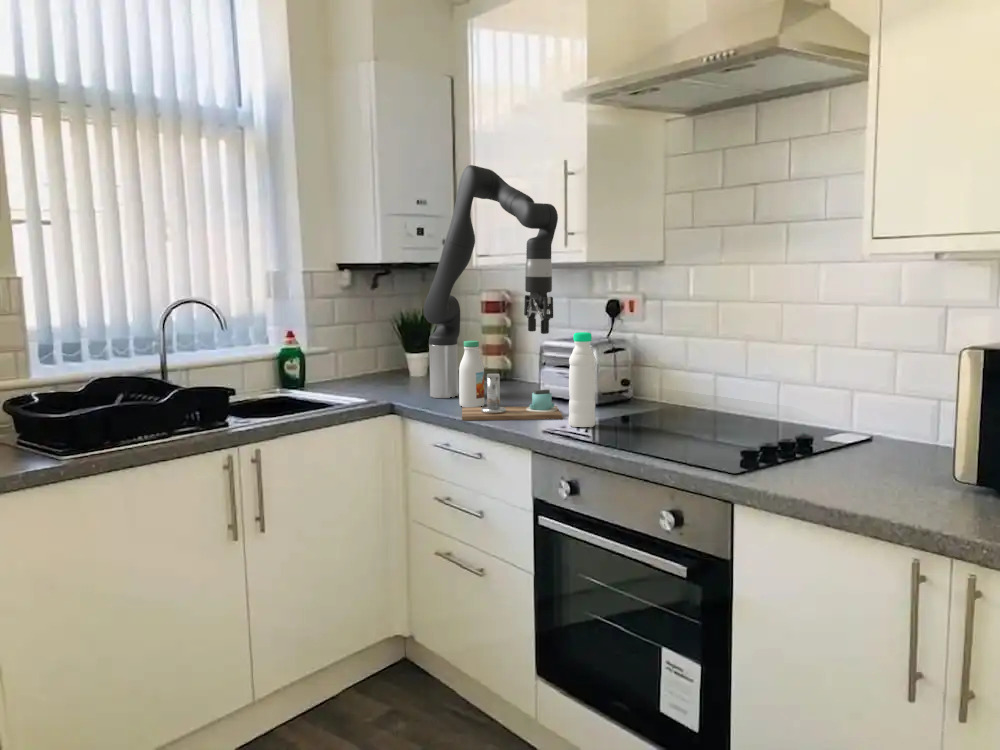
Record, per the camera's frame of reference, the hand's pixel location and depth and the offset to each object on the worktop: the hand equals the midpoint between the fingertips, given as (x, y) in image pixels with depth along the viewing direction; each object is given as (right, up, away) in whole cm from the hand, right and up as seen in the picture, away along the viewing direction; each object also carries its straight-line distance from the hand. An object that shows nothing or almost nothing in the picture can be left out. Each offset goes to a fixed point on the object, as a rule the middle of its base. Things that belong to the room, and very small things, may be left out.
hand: (538, 332), depth 227 cm
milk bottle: (-19, -22, +17) cm, 34 cm away
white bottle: (+11, -26, -15) cm, 32 cm away
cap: (+1, -22, +2) cm, 22 cm away
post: (-13, -23, 0) cm, 26 cm away
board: (-8, -24, +1) cm, 25 cm away
